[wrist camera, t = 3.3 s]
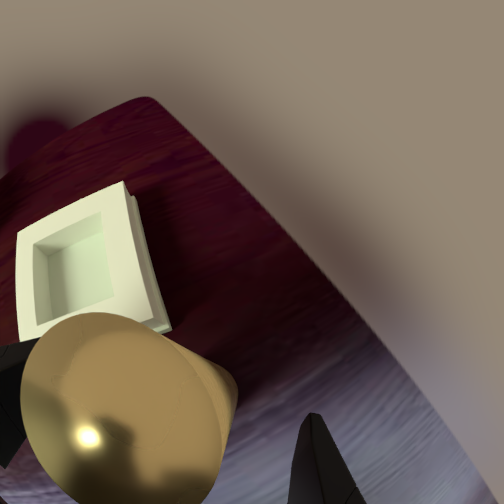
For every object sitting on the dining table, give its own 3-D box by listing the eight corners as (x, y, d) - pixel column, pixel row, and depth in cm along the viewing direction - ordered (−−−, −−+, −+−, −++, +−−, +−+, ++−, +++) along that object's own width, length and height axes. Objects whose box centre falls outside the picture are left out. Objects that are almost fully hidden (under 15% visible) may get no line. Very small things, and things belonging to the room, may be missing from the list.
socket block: (172, 330, 16) (159, 320, 14) (46, 370, 14) (21, 365, 12) (137, 201, 21) (125, 177, 18) (34, 247, 19) (16, 231, 16)
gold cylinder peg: (248, 410, 14) (264, 501, 3) (188, 431, 14) (69, 522, 2) (223, 352, 16) (167, 280, 4) (164, 373, 15) (5, 341, 4)
